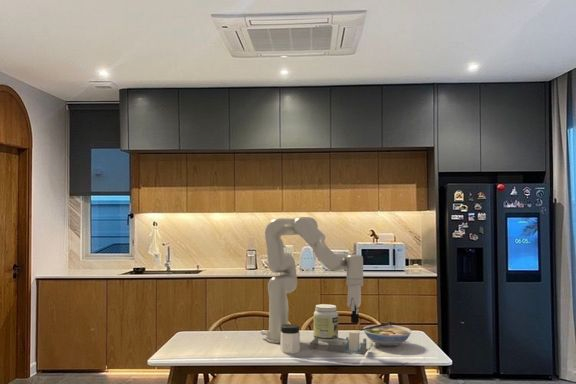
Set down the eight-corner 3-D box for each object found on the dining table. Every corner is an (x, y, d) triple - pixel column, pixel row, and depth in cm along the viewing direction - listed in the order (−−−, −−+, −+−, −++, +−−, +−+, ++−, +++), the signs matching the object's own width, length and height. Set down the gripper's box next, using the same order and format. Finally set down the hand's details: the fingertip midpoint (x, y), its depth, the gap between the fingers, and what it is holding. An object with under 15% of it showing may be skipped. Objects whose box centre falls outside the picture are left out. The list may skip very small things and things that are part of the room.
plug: (349, 350, 225) (349, 332, 225) (350, 348, 229) (350, 330, 229) (357, 351, 224) (358, 333, 224) (359, 349, 228) (359, 331, 228)
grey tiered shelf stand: (310, 351, 227) (310, 339, 227) (315, 346, 237) (315, 334, 237) (363, 356, 220) (363, 343, 220) (366, 350, 230) (366, 338, 230)
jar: (277, 354, 222) (277, 326, 222) (283, 349, 229) (283, 323, 230) (296, 356, 219) (297, 328, 220) (301, 351, 227) (302, 324, 227)
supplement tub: (337, 344, 241) (337, 308, 242) (311, 342, 243) (312, 307, 244) (338, 338, 253) (339, 304, 254) (314, 336, 255) (315, 303, 256)
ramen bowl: (389, 354, 223) (389, 336, 224) (351, 344, 241) (351, 327, 241) (422, 345, 239) (422, 328, 240) (385, 336, 257) (385, 320, 257)
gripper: (349, 279, 236) (349, 319, 235) (343, 283, 222) (343, 325, 221) (365, 280, 234) (365, 320, 233) (360, 284, 219) (360, 326, 218)
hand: (354, 322), depth 227 cm, fingers closed
